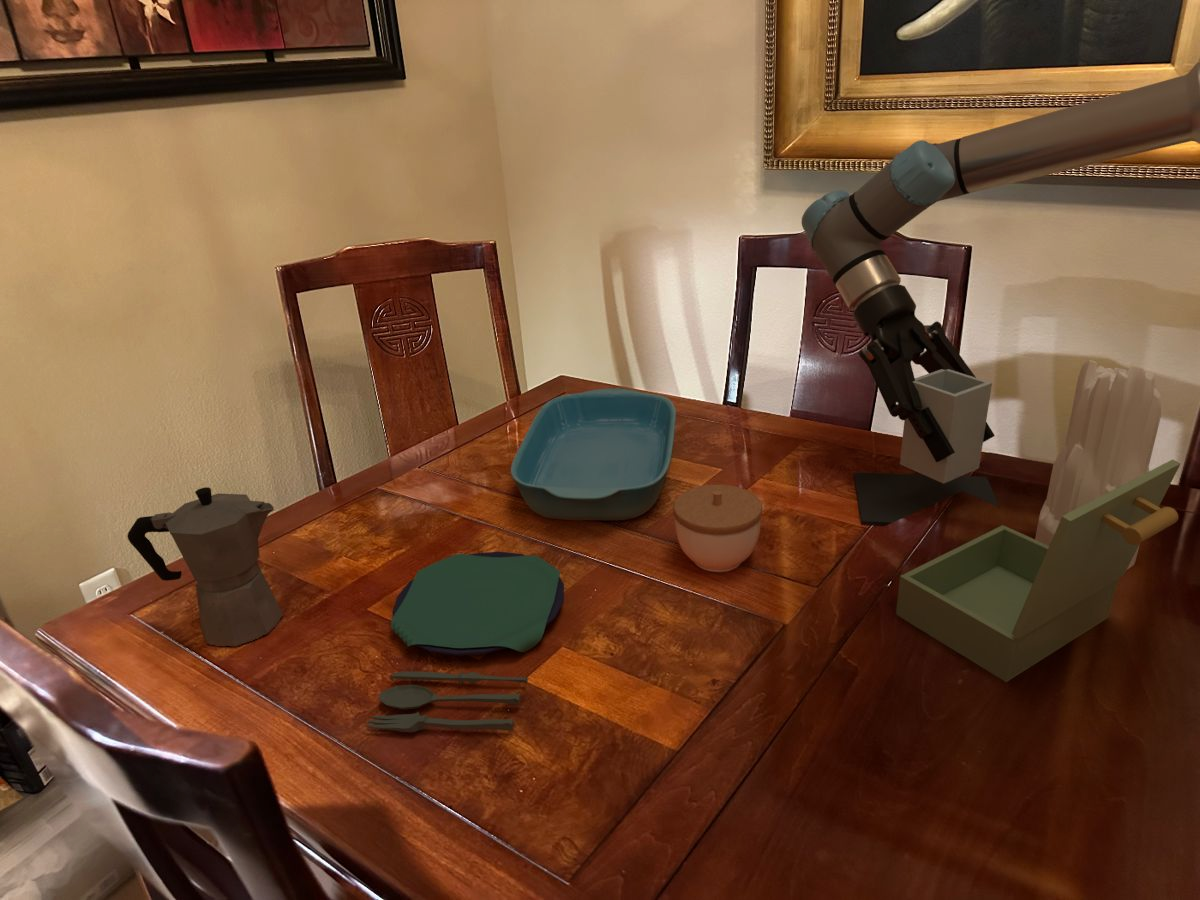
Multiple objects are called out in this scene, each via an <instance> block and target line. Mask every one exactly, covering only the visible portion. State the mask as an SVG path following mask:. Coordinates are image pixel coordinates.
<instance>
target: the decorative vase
mask: <svg viewBox="0 0 1200 900" xmlns="http://www.w3.org/2000/svg"><path fill="white" fill-rule="evenodd" d="M1155 382H1156V381H1155V375H1154V373H1152V371H1150V370H1148V371H1145V369H1144V368H1143V367H1140V366H1137V365H1134V364H1131V365H1130V366H1129V368H1128V370H1127V369H1124V368H1121V367H1114V368H1111V367H1104V366H1103V365H1099V366H1098V362H1097V361H1094V360H1091V359H1089V360H1086V361H1084V362H1083V363H1082V366H1081V369H1080V371H1079V374H1078V377H1077V381H1076V386H1075V392H1074V397H1073V402H1072V408H1071V413H1070V418H1069V423H1068V429H1067V434H1066V439H1065V443H1064V446H1062V447H1061V449H1060V451H1059V453H1058V455H1056V458H1055V460H1054V461H1053V465H1052V469H1051V474H1050V480H1049V485H1048V490H1047V494H1046V499H1045V500H1044V503H1043V505H1042V507H1041V509H1040V513H1039V516H1038V521H1037V527H1036V532H1035V538H1034V539H1035V540H1037V541H1039V542H1041V543H1044V544H1046V545H1048V546H1050V543H1051V541H1052V539H1053V536H1054V534H1055V532H1056V529H1057V527H1058V525H1059V523H1060V520H1061V518H1062V516H1064V515H1066V514H1067V513H1069V512H1071V511H1073V510H1075V509H1077V508H1079V507H1081V506H1083V505H1085V504H1087V503H1089V502H1091V501H1093V500H1095V499H1097V498H1099V497H1101V496H1102V495H1104V494H1106V493H1108V492H1110V491H1112V490H1114V489H1116V488H1118V487H1120V486H1122V485H1124V484H1126V483H1128V482H1130V481H1132V480H1134V479H1135V478H1137V477H1139V476H1141V475H1143V474H1145V473H1147V472H1149V471H1150V467H1149V466H1150V462H1151V459H1152V455H1153V452H1154V451H1153V450H1154V446H1155V442H1156V438H1157V434H1158V431H1159V430H1158V429H1159V426H1160V422H1161V418H1162V395H1161V394H1160V392H1159V390H1158V389H1157V388H1156V383H1155ZM1140 545H1141V543H1140V544H1139V546H1138V548H1137V550H1136V552H1135V554H1134V556H1133V558H1132V560H1131V562H1130V564H1129V566H1128V568H1127V570H1129V569H1131V568H1132V567H1134V565H1135V564H1136V561H1137V558H1138V553H1139V550H1140V549H1139V548H1140Z"/></svg>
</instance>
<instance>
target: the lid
mask: <svg viewBox="0 0 1200 900" xmlns="http://www.w3.org/2000/svg"><path fill="white" fill-rule="evenodd" d="M1181 464H1182V463H1181V462H1178V461H1177V460H1175V459H1170V460H1169V461H1167V462H1164V463H1163V464H1160V465H1159V466H1157V467H1155V468H1153V469H1151V470H1149V472H1147V473H1145V474H1143V475H1141V476H1139V477H1137V478H1135V479H1134V480H1132V481H1130V482H1128V483H1126V484H1124V485H1122V486H1120V487H1118V488H1116V489H1114V490H1112V491H1110V492H1108V493H1106V494H1104V495H1102V496H1101V497H1099V498H1097V499H1095V500H1093V501H1091V502H1089V503H1087V504H1085V505H1083V506H1081V507H1079V508H1077V509H1075V510H1073V511H1071V512H1069V513H1067V514H1066V515H1064V516H1062V518H1061V520H1060V523H1059V525H1058V527H1057V529H1056V532H1055V534H1054V536H1053V539H1052V541H1051V543H1050V546H1049V548H1048V550H1047V553H1046V555H1045V557H1044V559H1043V562H1042V564H1041V566H1040V569H1039V571H1038V573H1037V576H1036V578H1035V580H1034V583H1033V585H1032V587H1031V589H1030V592H1029V594H1028V596H1027V599H1026V601H1025V603H1024V606H1023V608H1022V610H1021V613H1020V615H1019V617H1018V620H1017V622H1016V624H1015V626H1014V629H1013V631H1012V633H1011V634H1012V635H1014V636H1015V637H1016V638H1018V639H1019V638H1021V637H1023V636H1024V635H1026V634H1028V633H1029V632H1031V631H1033V630H1034V629H1036V628H1038V627H1039V626H1041V625H1043V624H1044V623H1046V622H1048V621H1049V620H1051V619H1053V618H1054V617H1056V616H1057V615H1059V614H1061V613H1062V612H1064V611H1066V610H1067V609H1069V608H1071V607H1072V606H1074V605H1076V604H1077V603H1079V602H1081V601H1082V600H1084V599H1086V598H1087V597H1089V596H1091V595H1092V594H1094V593H1096V592H1097V591H1099V590H1101V589H1102V588H1104V587H1106V586H1107V585H1109V584H1111V583H1112V582H1114V581H1116V580H1117V579H1118V580H1119V579H1121V578H1123V577H1124V575H1125V574H1126V572H1127V570H1128V569H1127V568H1128V566H1129V564H1130V562H1131V560H1132V558H1133V556H1134V554H1135V552H1136V550H1137V548H1138V546H1139V547H1140V545H1141V543H1143V542H1145V541H1146V540H1148V539H1150V538H1152V537H1153V536H1155V535H1156V534H1158V533H1160V532H1162V531H1164V530H1166V529H1167V528H1169V527H1170V526H1172V525H1174V524H1176V523H1177V522H1178V521H1179V514H1178V512H1177V510H1176V509H1175V508H1173V507H1170V506H1164V507H1163V506H1162V507H1160V505H1161V503H1162V502H1163V499H1164V497H1165V495H1166V493H1167V491H1168V489H1169V488H1170V486H1171V484H1172V482H1173V480H1174V478H1175V476H1176V474H1177V472H1178V470H1179V468H1180V466H1181ZM1139 544H1140V545H1139Z"/></svg>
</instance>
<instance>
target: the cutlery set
mask: <svg viewBox="0 0 1200 900" xmlns="http://www.w3.org/2000/svg"><path fill="white" fill-rule="evenodd" d="M560 576H561V571H560V569H558V568H556V567H555V566H554V565H552V564H551V563H549V562H547V561H546V560H545V559H543V558H541V557H540V556H538V555H533V554H527V555H526V554H523V553H518V552H517V553H516V552H507V551H488V552H475V553H470V554H465V553H456V554H453V555H451V556H448V557H445V558H443V559H440V560H438V561H436V562H433V563H431V564H429V565H427V566H426V567H423V568H421V569H418V570H417V572H416V574H415V575H414V577H413V578H412V579H411V580H410V581H408V583H407V584H406V585H405V586H404V587H403V589H402V590H401V591H400V592H399V594H397V596H396V599H395V602H394V606H393V608H392V612H391V613H392V619H391V621H390V628H391V631H392V632H393V633H394V634H395V635H396V636H398V637H399V639H400V640H401V641H402V642H403V643H404V644H405V646H407V648H410V647H411V646H414V647H415V646H416V647H418V648H420V649H422V650H425V651H426V652H429V653H433V654H441V655H448V656H455V657H460V656H461V657H463V656H473V655H476V656H477V655H487V654H491V653H494V652H498V651H502V650H504V649H505V650H506V649H508V648H509V649H512V650H514V651H517V652H519V653H527V652H529V651H530V650H531V649H533V648H534V647H536V646H537V645H538V643H539V642H540V641H541V640H542V638H543V635H544V634H545V629H546V627H547V626H549V625H550V624H551V623H552V622H553V621H554V620H555V619H556V618H557V616H558V614H559V612H560V610H561V608H562V607H563V604H564V602H565V584H564V582H563V580H562V579H561V577H560ZM528 650H529V651H528ZM526 651H527V652H526ZM389 677H390V679H392V680H421V681H422V680H423V681H424V680H425V681H449V682H451V681H452V682H458V683H459V686H462V684H464V683H465V682H467V683H470V684H475V683H479V682H481V681H489V682H490V681H491V682H495V681H496V682H500V681H501V682H503V681H504V682H513V683H514V682H515V683H524V685H525V686H527V684H528V681H529V680H528V675H526V676H499V675H485V674H480V673H478V672H475V671H471V672H468V673H465V672H464V671H463V670H461V671H460V673H459V674H457V673H451V672H450V673H449V672H444V671H443V672H440V671H417V670H416V671H415V670H414V671H413V670H404V671H398V672H394V673H391V674H390V676H389ZM521 698H522V697H521V693H492V694H491V693H480V694H479V693H475V694H463V695H462V694H461V695H460V694H459V695H445V696H443V695H441V696H438V695H437V694H436V693H435V692H434V691H432V689H430V688H429V687H427V686H422V685H415V684H405V685H395V686H393V687H390V688H386V689H385V690H382V691H380V694H379V696H378V697H377V700H379V701H380V702H382V703H383V704H384V705H385V706H388V707H390V708H394V709H398V710H413V709H419V708H421V707H424V706H426V705H428V704H430V703H436V702H437V703H439V702H460V703H462V702H476V703H477V702H478V703H497V704H498V703H499V704H509V705H520V702H521ZM365 726H366V728H369V729H374V730H386V731H387V730H388V731H395V732H401V733H402V732H403V733H416V732H419V731H423V730H426V727H435V728H444V729H452V730H474V731H475V730H477V731H479V730H497V731H498V730H499V731H509V732H510V731H512V732H513V730H514V727H515V723H514V719H512V718H504V719H501V718H485V719H448V718H447V719H446V718H438V717H437V718H436V717H428V715H427V714H423V715H420V712H419V711H417V712H415V713H404V714H393V715H372V714H371V715H370V719H368V724H366V725H365Z"/></svg>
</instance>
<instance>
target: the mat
mask: <svg viewBox="0 0 1200 900" xmlns="http://www.w3.org/2000/svg"><path fill="white" fill-rule="evenodd" d="M853 480H854V487H855V493H856V499H857V500H856V501H857V506H858V513H859V521H860V524H861V525H862V526H880V527H881V526H884V527H886V526H888V525H890V524H893V523H895V522H897V521H899V520H902V519H904V518H906V517H908V516H911V515H913V514H915V513H917V512H920V511H922V510H924V509H927V508H928V507H930V506H933V505H935V504H937V503H939V502H942V501H944V500H946V499H948V498H950V497H953V496H955V495H957V494H959V493H961V492H963V493H966V494H968V495H970V496H972V497H975V498H978V499H980V500H982V501H983V502H987V503H988V504H990V505H993V506H996V507H997V508H1001V505H1000V504H999V501H998V500H997V497H996V494H995V492H994V491H993V488H992V487H991V484H990V482H989V479H988V477H987V476H976V475H975V476H973V475H972V476H971V475H962V476H960V477H958V478H955V479H953V480H951V481H949V482H946V483H944V484H943V483H941V482H939V481H936V480H934V479H932V478H930V477H927V476H925V475H923V474H921V473H915V474H913V473H892V472H891V473H890V472H889V473H886V472H861V471H860V472H859V471H854V472H853Z"/></svg>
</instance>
